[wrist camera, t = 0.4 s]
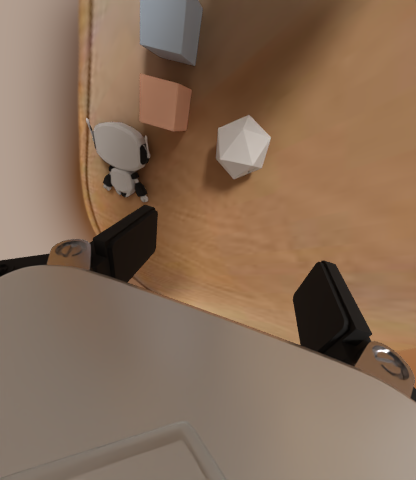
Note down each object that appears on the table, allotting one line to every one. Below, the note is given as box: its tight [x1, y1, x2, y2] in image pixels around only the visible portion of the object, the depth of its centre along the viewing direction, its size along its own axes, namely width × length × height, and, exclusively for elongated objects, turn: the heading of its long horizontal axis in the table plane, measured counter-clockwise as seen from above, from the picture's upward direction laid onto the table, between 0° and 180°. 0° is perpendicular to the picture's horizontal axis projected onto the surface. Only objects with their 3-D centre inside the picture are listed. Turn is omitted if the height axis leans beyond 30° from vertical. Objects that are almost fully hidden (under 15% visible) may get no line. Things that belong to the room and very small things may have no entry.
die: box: [216, 115, 271, 179], centre depth 30 cm, size 8×9×10 cm
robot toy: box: [86, 118, 150, 202], centre depth 39 cm, size 12×4×15 cm
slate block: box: [140, 0, 203, 66], centre depth 25 cm, size 6×6×6 cm
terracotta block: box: [140, 73, 192, 131], centre depth 30 cm, size 6×6×6 cm
